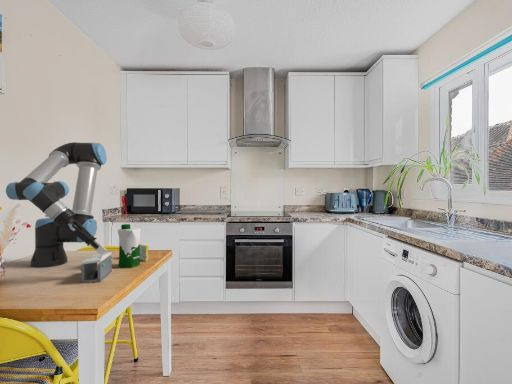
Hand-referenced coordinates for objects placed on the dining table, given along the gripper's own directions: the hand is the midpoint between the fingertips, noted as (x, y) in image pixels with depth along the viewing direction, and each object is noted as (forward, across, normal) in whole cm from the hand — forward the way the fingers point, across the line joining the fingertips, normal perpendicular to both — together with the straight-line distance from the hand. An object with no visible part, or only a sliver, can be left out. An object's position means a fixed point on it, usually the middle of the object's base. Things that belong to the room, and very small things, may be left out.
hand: (104, 252), depth 130 cm
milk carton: (+14, -15, 0) cm, 21 cm away
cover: (0, +1, -3) cm, 3 cm away
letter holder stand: (+5, +1, -9) cm, 10 cm away
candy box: (+16, -29, +2) cm, 33 cm away
